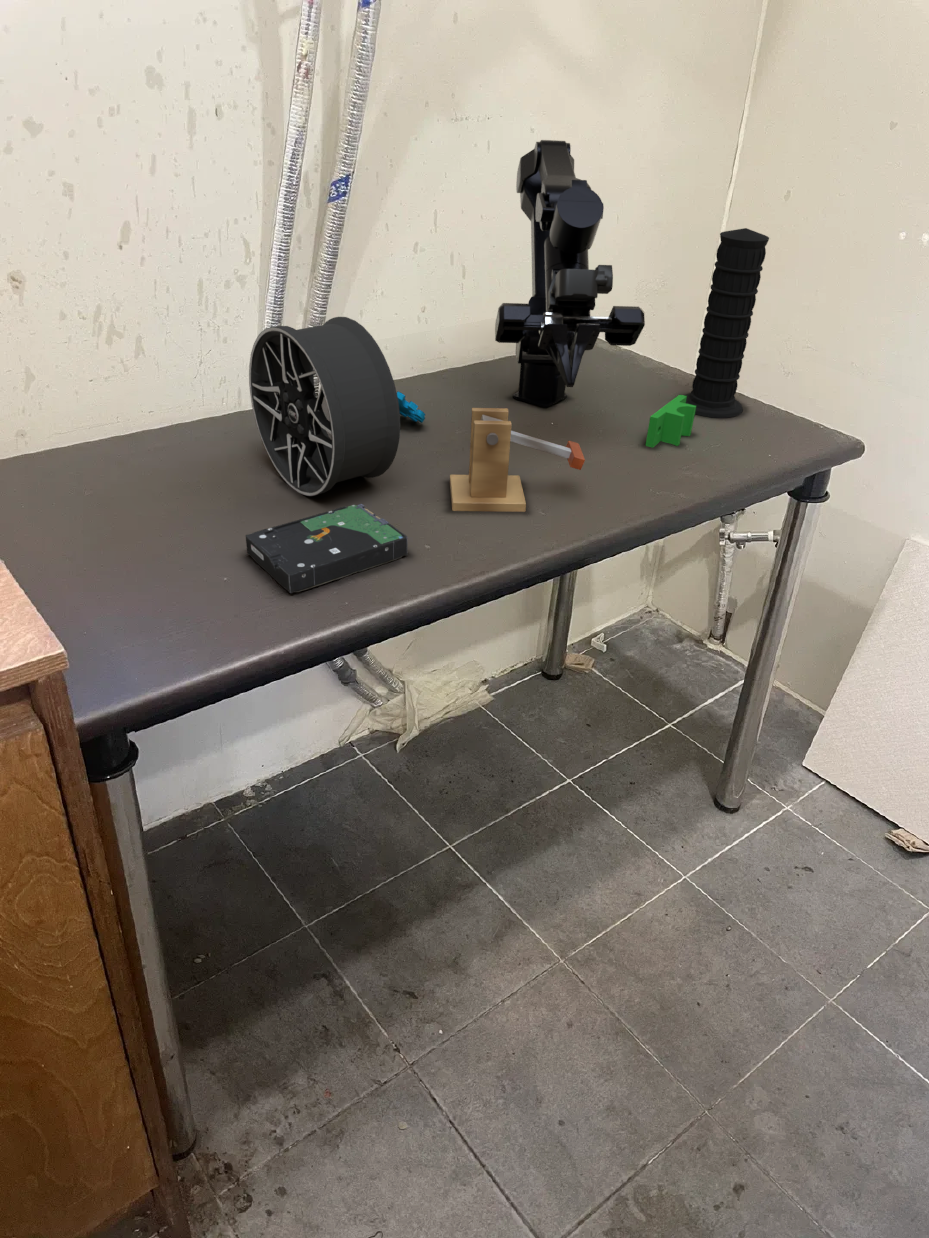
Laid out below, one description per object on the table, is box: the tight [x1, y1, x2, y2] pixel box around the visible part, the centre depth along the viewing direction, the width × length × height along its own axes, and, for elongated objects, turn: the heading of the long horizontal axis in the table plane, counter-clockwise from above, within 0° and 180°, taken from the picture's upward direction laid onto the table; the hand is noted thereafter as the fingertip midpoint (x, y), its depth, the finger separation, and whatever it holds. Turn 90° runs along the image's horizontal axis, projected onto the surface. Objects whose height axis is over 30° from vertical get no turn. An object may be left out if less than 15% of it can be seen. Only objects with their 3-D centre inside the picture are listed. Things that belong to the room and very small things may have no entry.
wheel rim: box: [248, 316, 401, 497], centre depth 111 cm, size 20×9×20 cm, turn 39°
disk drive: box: [245, 503, 409, 594], centre depth 101 cm, size 10×3×15 cm
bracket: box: [449, 407, 527, 513], centre depth 112 cm, size 9×8×11 cm
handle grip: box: [683, 227, 770, 419], centre depth 137 cm, size 10×26×10 cm
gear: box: [396, 390, 426, 424], centre depth 131 cm, size 11×6×10 cm
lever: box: [480, 415, 586, 471], centre depth 111 cm, size 13×5×2 cm, turn 93°
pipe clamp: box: [645, 394, 696, 449], centre depth 132 cm, size 11×4×5 cm, turn 147°
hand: (570, 386), depth 117 cm, fingers closed
